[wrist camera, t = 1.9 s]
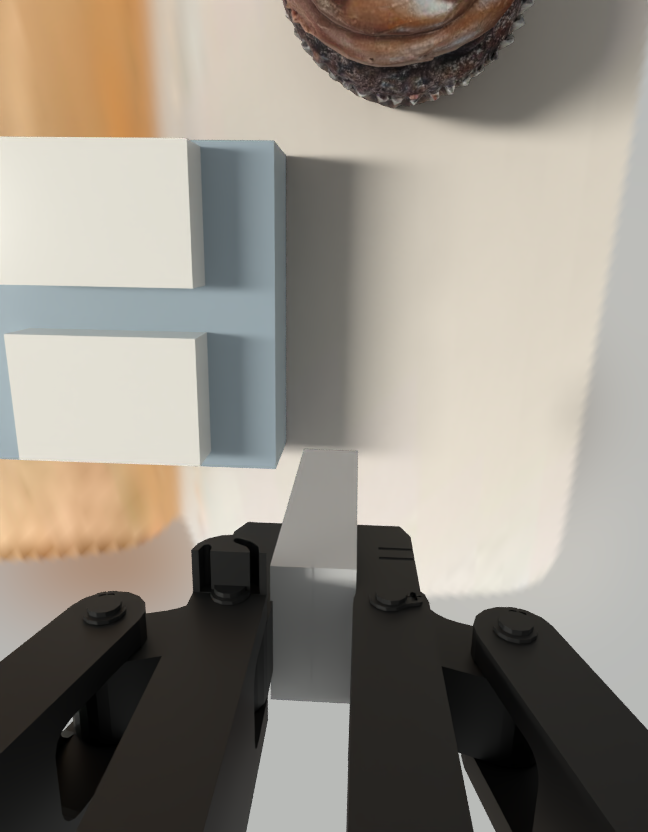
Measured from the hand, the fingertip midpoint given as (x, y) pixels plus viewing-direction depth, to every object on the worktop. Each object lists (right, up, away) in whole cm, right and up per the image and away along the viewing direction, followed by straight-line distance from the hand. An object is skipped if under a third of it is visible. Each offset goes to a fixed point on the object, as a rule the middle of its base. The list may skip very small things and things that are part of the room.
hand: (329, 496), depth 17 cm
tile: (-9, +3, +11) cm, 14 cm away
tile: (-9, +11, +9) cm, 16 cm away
